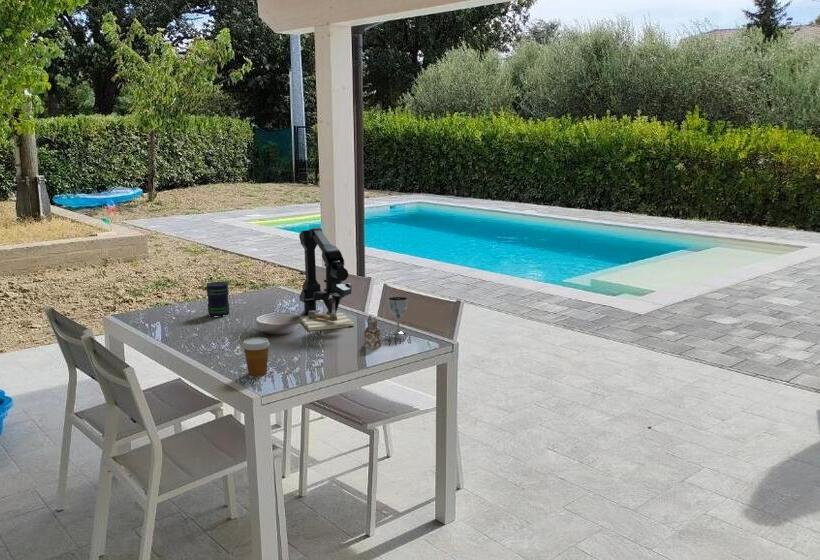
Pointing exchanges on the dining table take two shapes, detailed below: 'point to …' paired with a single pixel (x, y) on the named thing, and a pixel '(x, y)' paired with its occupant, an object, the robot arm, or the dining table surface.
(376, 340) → the figurine
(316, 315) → the lever
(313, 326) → the nutcracker base
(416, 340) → the dining table surface
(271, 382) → the dining table surface
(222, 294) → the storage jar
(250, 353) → the disposable coffee cup
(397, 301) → the wine glass
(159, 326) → the dining table surface
